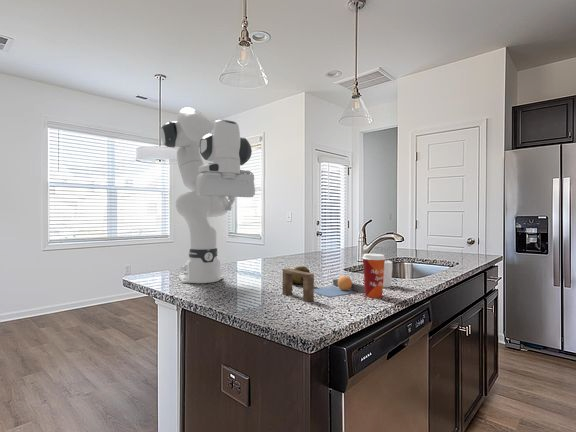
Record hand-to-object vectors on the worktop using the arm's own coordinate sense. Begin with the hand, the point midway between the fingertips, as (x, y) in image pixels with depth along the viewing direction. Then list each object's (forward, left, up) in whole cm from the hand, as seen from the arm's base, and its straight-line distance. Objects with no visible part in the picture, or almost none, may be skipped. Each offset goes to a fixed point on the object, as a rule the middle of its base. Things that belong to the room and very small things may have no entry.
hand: (226, 210), depth 114 cm
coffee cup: (+22, +48, -31) cm, 61 cm away
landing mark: (+8, +40, -31) cm, 51 cm away
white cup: (+12, +65, -31) cm, 73 cm away
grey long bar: (+9, +49, -31) cm, 59 cm away
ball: (+10, +46, -28) cm, 54 cm away
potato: (-10, +38, -31) cm, 50 cm away
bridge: (+8, +24, -31) cm, 40 cm away
